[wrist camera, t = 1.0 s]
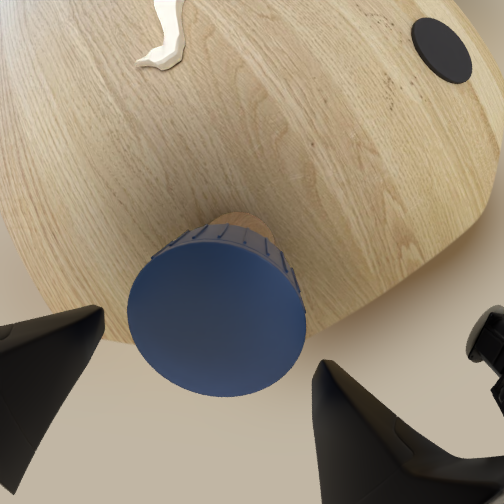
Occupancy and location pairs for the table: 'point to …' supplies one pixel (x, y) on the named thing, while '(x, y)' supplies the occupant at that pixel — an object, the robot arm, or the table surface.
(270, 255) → the lid
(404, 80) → the table surface
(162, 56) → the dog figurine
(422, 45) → the coaster
